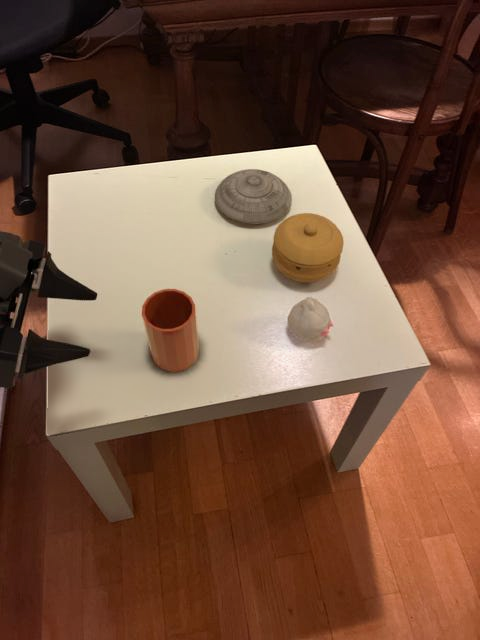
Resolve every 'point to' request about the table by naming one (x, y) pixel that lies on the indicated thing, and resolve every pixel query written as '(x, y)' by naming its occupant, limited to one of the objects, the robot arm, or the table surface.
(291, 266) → the pot
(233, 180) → the flying saucer
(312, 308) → the figurine
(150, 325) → the tumbler
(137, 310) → the table surface
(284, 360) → the table surface
